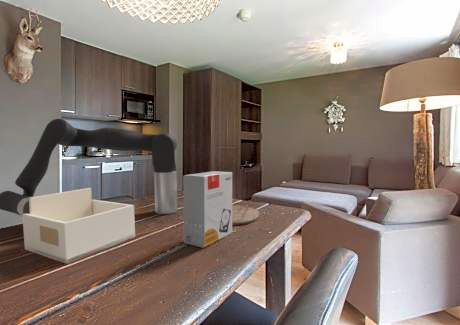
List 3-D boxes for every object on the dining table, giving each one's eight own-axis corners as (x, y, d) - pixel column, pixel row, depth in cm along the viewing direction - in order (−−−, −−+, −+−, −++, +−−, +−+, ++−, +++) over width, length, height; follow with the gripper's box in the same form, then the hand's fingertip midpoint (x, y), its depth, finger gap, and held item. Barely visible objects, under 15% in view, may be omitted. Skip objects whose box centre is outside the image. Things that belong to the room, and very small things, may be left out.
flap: (91, 223, 90) (91, 188, 88) (32, 240, 74) (30, 197, 73) (90, 222, 90) (89, 187, 89) (30, 240, 74) (28, 197, 73)
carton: (135, 236, 82) (134, 205, 81) (65, 264, 63) (63, 223, 63) (94, 227, 91) (93, 199, 91) (23, 249, 73) (21, 214, 72)
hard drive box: (203, 249, 72) (202, 176, 70) (182, 243, 76) (181, 175, 74) (233, 232, 85) (232, 171, 83) (214, 228, 89) (213, 170, 87)
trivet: (258, 209, 115) (258, 205, 115) (259, 228, 90) (259, 222, 90) (202, 209, 117) (202, 205, 117) (188, 226, 92) (188, 221, 92)
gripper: (11, 201, 84) (38, 208, 76) (55, 194, 96) (83, 199, 87) (12, 224, 85) (39, 233, 76) (56, 214, 96) (84, 221, 88)
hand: (62, 215), depth 82 cm, fingers closed
